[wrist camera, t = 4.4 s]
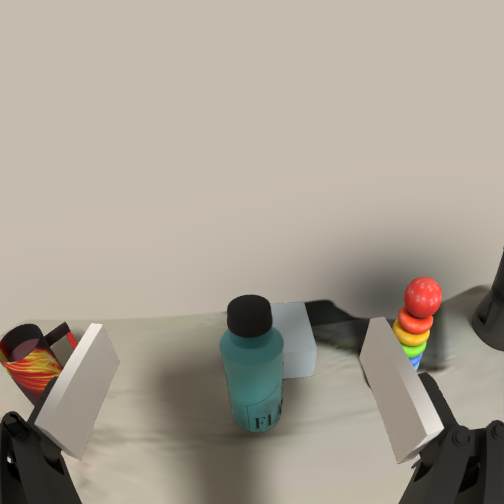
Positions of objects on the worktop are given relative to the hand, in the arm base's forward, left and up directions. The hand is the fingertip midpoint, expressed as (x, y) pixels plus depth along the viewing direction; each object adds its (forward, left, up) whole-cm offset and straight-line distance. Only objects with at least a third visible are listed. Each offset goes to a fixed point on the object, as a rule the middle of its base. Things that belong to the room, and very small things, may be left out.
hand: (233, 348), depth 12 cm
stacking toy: (+1, -26, -25) cm, 36 cm away
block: (+18, -15, -25) cm, 34 cm away
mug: (+28, +24, -25) cm, 44 cm away
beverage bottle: (+8, -6, -25) cm, 27 cm away
